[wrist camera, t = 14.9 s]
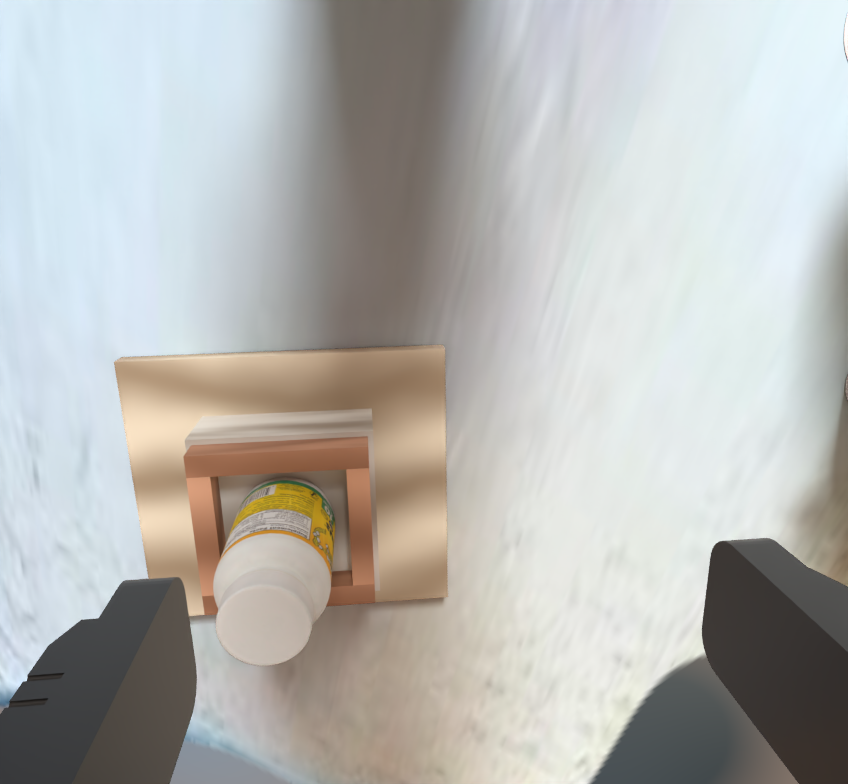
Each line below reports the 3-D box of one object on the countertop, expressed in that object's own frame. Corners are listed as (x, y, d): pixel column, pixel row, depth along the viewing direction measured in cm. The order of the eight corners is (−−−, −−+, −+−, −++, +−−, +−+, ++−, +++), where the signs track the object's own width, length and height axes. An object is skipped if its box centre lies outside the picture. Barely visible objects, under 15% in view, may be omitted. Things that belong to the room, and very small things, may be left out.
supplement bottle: (248, 465, 35) (209, 558, 26) (345, 484, 36) (341, 581, 27) (230, 551, 36) (188, 670, 27) (324, 568, 37) (313, 688, 28)
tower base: (121, 357, 38) (72, 389, 31) (442, 344, 40) (458, 372, 33) (160, 607, 43) (124, 679, 36) (445, 586, 44) (459, 652, 38)
